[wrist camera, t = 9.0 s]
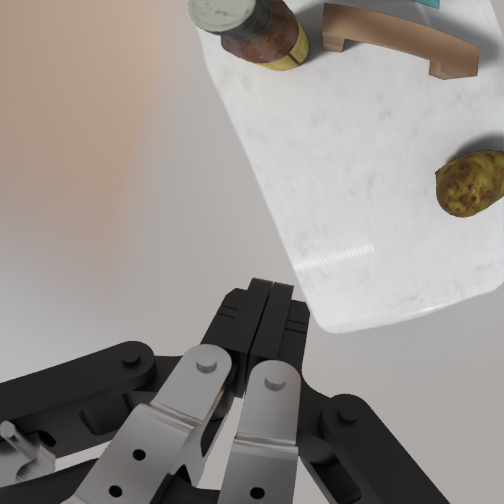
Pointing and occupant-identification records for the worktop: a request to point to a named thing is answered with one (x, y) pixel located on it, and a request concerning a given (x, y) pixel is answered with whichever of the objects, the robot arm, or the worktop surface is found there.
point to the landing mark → (429, 3)
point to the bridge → (400, 39)
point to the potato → (471, 183)
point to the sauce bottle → (254, 30)
